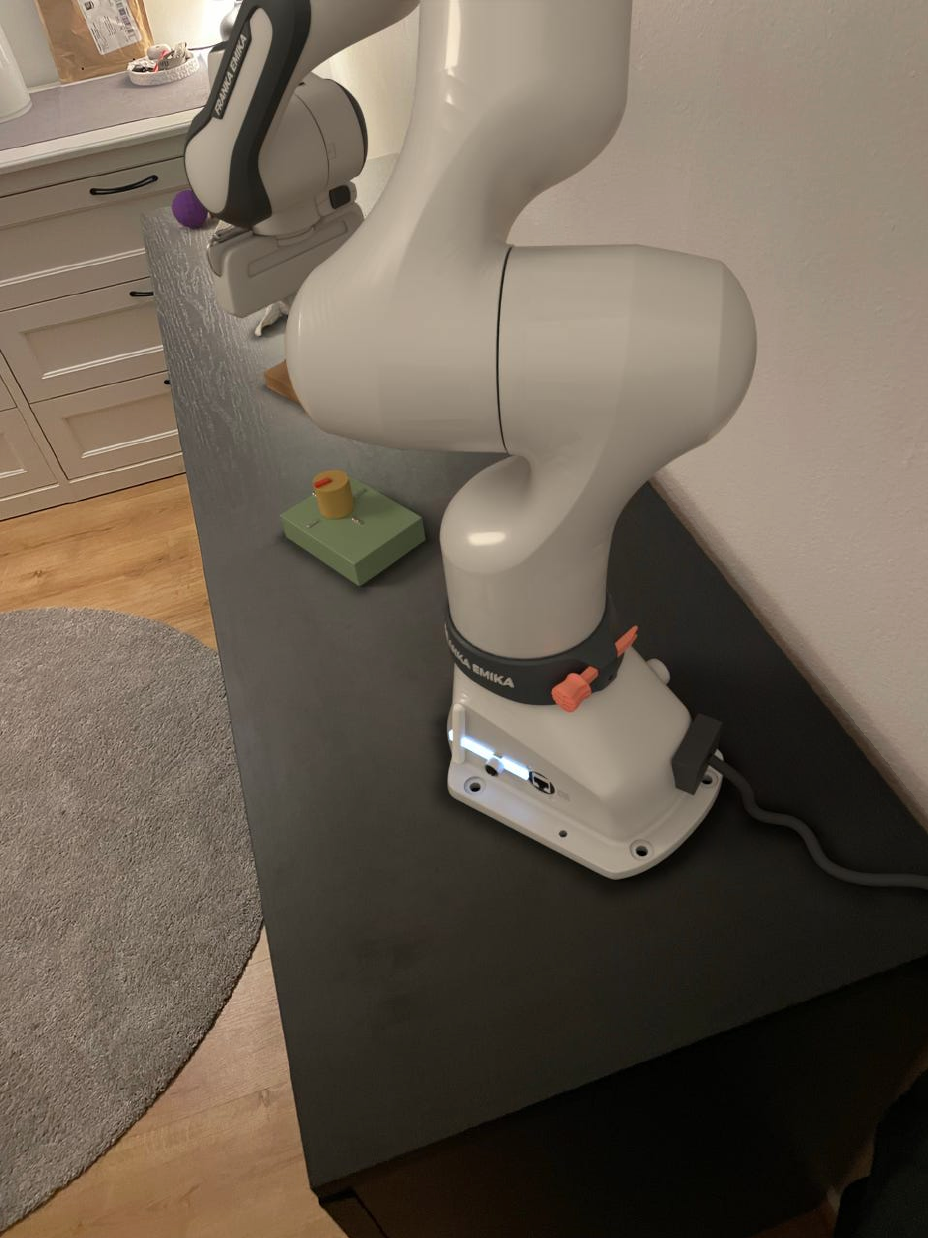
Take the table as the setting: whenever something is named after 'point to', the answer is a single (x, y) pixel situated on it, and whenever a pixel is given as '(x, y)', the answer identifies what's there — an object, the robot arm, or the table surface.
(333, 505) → the tap knob
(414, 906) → the table surface
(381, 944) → the table surface
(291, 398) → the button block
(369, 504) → the dial panel
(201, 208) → the kendama
